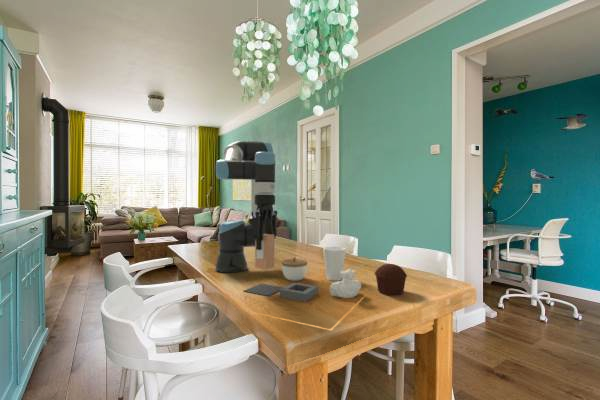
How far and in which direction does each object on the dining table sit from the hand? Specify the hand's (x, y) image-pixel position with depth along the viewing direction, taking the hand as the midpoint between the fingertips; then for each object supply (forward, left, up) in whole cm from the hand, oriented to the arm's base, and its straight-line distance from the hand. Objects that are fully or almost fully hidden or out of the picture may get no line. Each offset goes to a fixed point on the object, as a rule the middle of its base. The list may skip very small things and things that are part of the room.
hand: (264, 257), depth 113 cm
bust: (-8, +29, -13) cm, 33 cm away
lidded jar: (-19, +2, -13) cm, 23 cm away
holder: (-1, +14, -13) cm, 19 cm away
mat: (0, 0, -13) cm, 13 cm away
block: (0, 0, -4) cm, 4 cm away
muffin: (-22, +41, -13) cm, 48 cm away
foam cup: (-29, +16, -13) cm, 36 cm away
